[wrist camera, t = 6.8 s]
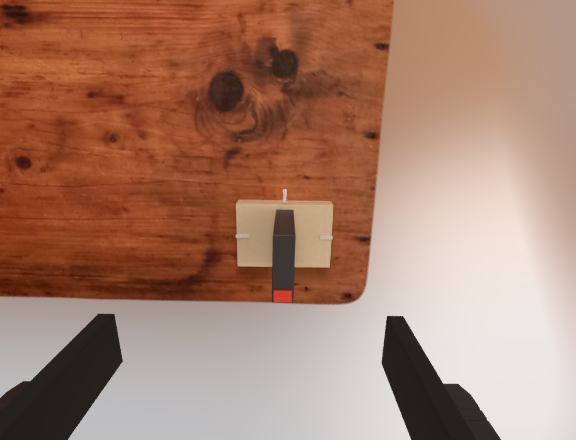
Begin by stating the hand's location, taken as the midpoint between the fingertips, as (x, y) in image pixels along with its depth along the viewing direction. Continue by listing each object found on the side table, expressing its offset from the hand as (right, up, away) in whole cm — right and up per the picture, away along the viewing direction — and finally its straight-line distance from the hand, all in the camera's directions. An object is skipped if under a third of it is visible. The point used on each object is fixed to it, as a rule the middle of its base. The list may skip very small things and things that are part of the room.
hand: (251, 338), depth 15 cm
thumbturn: (+1, +4, +18) cm, 18 cm away
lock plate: (+1, +5, +20) cm, 20 cm away
